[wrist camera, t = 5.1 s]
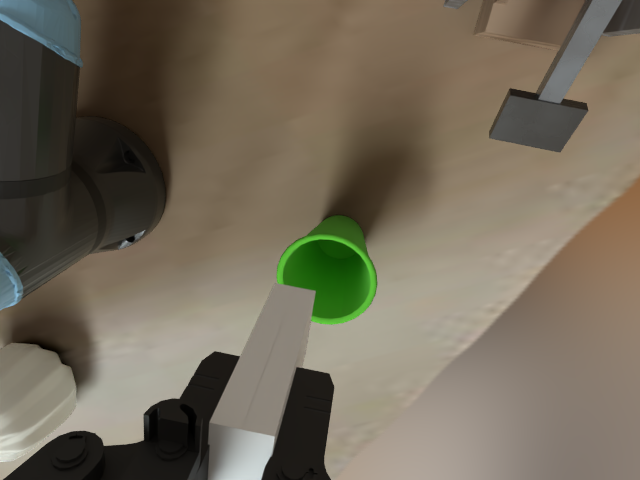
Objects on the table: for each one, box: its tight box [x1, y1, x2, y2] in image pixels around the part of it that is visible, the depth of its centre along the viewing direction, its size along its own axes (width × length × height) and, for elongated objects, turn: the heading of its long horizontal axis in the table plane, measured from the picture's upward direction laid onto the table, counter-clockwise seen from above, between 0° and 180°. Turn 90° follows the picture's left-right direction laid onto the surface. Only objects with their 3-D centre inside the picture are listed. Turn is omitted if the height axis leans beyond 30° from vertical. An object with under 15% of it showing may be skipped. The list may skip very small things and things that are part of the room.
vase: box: [0, 343, 76, 462], centre depth 59 cm, size 14×14×13 cm
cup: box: [277, 215, 377, 324], centre depth 44 cm, size 9×9×11 cm
